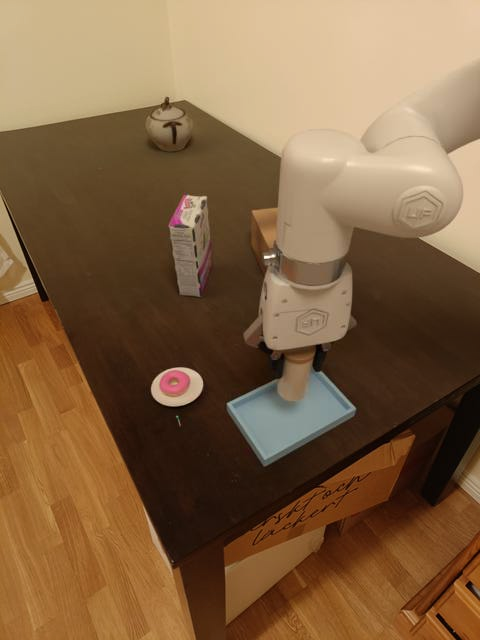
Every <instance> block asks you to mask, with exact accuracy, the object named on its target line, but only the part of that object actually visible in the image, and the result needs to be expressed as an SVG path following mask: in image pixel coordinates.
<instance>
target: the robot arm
mask: <svg viewBox="0 0 480 640" xmlns="http://www.w3.org/2000/svg"><path fill="white" fill-rule="evenodd" d="M479 140H480V57H478V58H476V59H474V60H471V61H469V62H466V63H465V64H461V65H459V66H458V67H456V68H454V69H452V70H449V71H448V72H446V73H444V74H442V75H440V76H439V77H437V78H435V79H433V80H432V81H430V82H428V83H427V84H425V85H423V86H422V87H421V88H419V89H418V90H416V91H414V92H413V93H411V94H410V95H408V96H406V97H404V98H403V99H402V100H400V101H398V102H397V103H396V104H394V105H393V106H391V107H390V108H388V109H387V110H386V111H385V112H383V113H382V114H381V115H380V116H378V117H377V118H376V119H375V120H374V121H372V123H371V124H370V125H369V126H367V129H366V130H365V131H364V133H363V134H362V135H361V138H360V139H359V138H358V137H356V136H355V135H354V134H351V133H349V132H346V131H343V130H338V129H331V128H313V129H307V130H302V131H299V132H297V133H296V134H294V135H292V136H290V138H288V140H287V141H286V142H285V144H284V146H283V147H282V150H281V156H280V166H279V185H278V198H277V199H278V200H277V208H278V214H277V228H276V240H275V241H274V245H273V248H272V251H269V252H267V253H262V256H261V258H262V264H263V266H266V265H269V266H268V269H267V272H266V275H265V276H264V279H263V282H262V287H261V291H260V299H259V304H258V305H259V307H258V317H256V318H255V319H254V321H253V322H252V323H251V324H250V326H249V327H248V328H247V329H245V331H244V332H243V333H242V338H243V341H244V344H245V345H246V346H250V347H253V348H258V350H259V351H261V352H262V353H265V354H266V355H267V365H268V366H267V367H268V368H269V371H270V372H274V376H275V378H276V379H281V378H282V377H283V367H284V358H283V355H282V352H283V350H285V349H292V348H298V347H304V346H310V345H316V353H315V356H314V359H313V365H312V367H313V369H314V371H315V372H321V371H322V367H323V363H325V361H326V356H327V352H329V351H330V350H332V345H333V344H334V343H335V342H336V341H338V340H341V339H343V338H344V337H345V336H346V334H347V333H348V331H351V330H352V329H353V328H355V327H356V326H357V325H358V322H357V320H356V319H355V317H354V315H353V314H352V312H351V311H352V304H353V269H352V267H351V265H350V264H349V263H348V262H347V260H348V256H349V251H350V247H351V241H352V237H353V232H354V228H357V229H361V230H365V231H369V232H372V233H377V234H380V235H384V236H389V237H396V238H403V239H417V238H418V239H419V238H424V237H428V236H431V235H434V234H437V233H438V232H441V231H442V230H443V229H445V228H446V227H448V226H449V225H451V223H452V222H453V221H454V220H455V218H456V217H457V216H458V214H459V212H460V210H461V208H462V205H463V201H464V185H463V181H462V177H461V175H460V173H459V171H458V169H457V167H456V166H455V164H454V163H453V160H452V159H451V158H450V156H449V154H451V153H452V152H454V151H456V150H458V149H460V148H462V147H465V146H467V145H468V144H471V143H473V142H476V141H479Z"/></svg>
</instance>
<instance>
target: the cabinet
mask: <svg viewBox="0 0 480 640" xmlns="http://www.w3.org/2000/svg"><path fill="white" fill-rule="evenodd" d="M277 214H278V207H269V208H261V209H254V210H251V220H250V221H251V222H250V223H251V225H250V226H251V227H250V228H251V229H250V233H251V234H250V245H251V247H252V250H253V252H254V254H255V257H256V259H257V262H258V264H259V267H260V269H261V271H262V273H263V276H264V277H265V275H266V272H267V269H268V266H269V265H266V266H263V264H262V258H261V256H262V253H267V252H269V251H272V248H273V245H274V241H275V240H276V228H277Z"/></svg>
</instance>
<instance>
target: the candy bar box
mask: <svg viewBox="0 0 480 640" xmlns="http://www.w3.org/2000/svg"><path fill="white" fill-rule="evenodd" d="M208 205H209V203H208V196H206V195H193V194H192V195H191V194H183V195H182V197H181V200H180V202H179V203H178V205H177V208H176V209H175V211H174V213H173V215H172V217H171V219H170V221H169V223H168V225H167V227H168V233H169V239H170V246H171V250H172V258H173V263H174V270H175V275H176V281H177V288H178V289H177V290H178V294H179V296H183V297H196V298H202V297H203V295H204V291H205V289H206V285H207V283H208V279H209V276H210V274H211V272H212V268H213V265H214V263H213V254H212V253H213V252H212V239H211V228H210V227H211V226H210V216H209V206H208Z"/></svg>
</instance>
